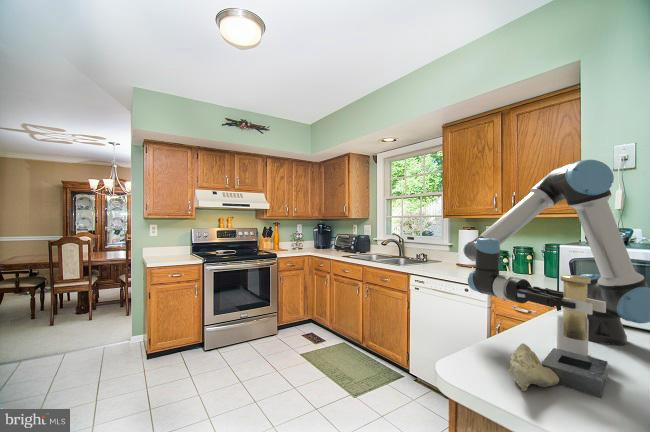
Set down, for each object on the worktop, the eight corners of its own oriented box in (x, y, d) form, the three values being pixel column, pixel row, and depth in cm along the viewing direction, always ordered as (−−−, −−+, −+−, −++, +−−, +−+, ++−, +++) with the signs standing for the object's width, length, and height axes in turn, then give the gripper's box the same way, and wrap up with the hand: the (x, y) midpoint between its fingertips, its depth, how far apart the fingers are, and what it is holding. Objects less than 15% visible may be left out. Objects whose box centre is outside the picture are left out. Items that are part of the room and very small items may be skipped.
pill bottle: (594, 359, 96) (594, 309, 96) (564, 356, 98) (565, 307, 98) (579, 349, 104) (579, 303, 104) (551, 346, 106) (552, 301, 106)
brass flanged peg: (572, 332, 88) (573, 274, 88) (596, 340, 82) (597, 278, 82) (553, 333, 87) (554, 274, 87) (576, 342, 80) (577, 279, 81)
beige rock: (531, 378, 87) (488, 341, 88) (555, 365, 84) (509, 327, 85) (547, 427, 73) (495, 382, 75) (575, 414, 70) (520, 367, 71)
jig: (553, 361, 94) (553, 347, 94) (607, 376, 85) (607, 361, 85) (540, 378, 83) (540, 363, 83) (601, 398, 74) (601, 381, 74)
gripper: (531, 299, 104) (618, 320, 83) (492, 302, 97) (575, 326, 76) (531, 276, 104) (619, 291, 83) (492, 278, 98) (576, 295, 76)
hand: (598, 308), depth 79 cm, fingers closed on brass flanged peg, 5 cm apart
